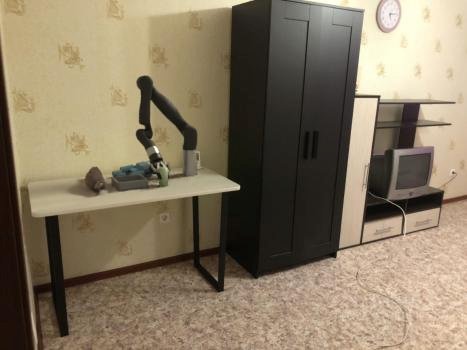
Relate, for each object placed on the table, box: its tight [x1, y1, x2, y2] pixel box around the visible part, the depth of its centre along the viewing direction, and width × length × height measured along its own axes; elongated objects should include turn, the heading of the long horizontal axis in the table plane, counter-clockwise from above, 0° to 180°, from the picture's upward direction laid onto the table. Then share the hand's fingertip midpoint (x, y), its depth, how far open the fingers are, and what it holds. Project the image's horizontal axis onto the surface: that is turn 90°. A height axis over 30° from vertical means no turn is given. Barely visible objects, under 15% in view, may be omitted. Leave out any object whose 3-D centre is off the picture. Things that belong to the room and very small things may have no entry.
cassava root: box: [84, 166, 107, 191], centre depth 220 cm, size 41×11×10 cm
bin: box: [111, 174, 149, 192], centre depth 222 cm, size 17×14×5 cm
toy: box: [111, 160, 154, 179], centre depth 245 cm, size 22×9×30 cm
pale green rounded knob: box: [158, 167, 169, 188], centre depth 225 cm, size 5×5×11 cm
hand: (165, 178), depth 224 cm, fingers closed on pale green rounded knob, 5 cm apart
